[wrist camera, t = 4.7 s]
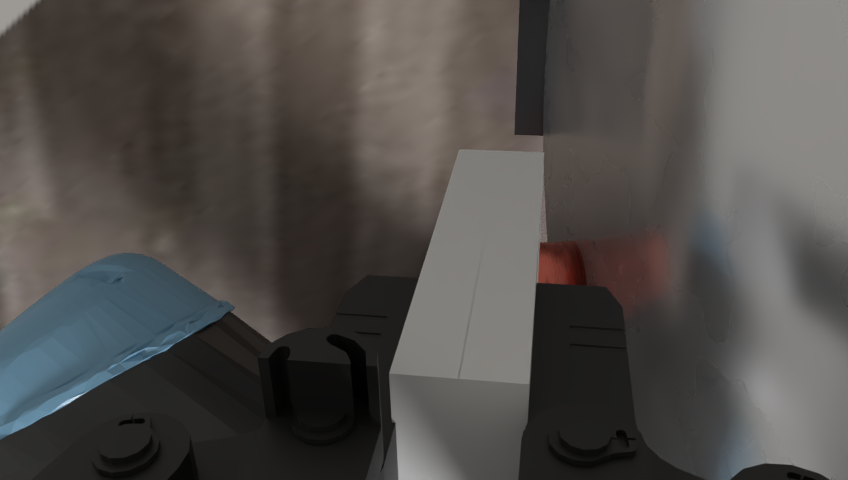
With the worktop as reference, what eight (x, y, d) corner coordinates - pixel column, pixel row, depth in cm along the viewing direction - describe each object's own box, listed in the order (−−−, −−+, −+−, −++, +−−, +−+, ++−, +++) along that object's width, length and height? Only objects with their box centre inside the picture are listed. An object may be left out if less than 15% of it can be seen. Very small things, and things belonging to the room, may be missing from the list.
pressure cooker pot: (521, 220, 42) (505, 374, 30) (547, -352, 31) (537, -446, 19) (941, 243, 39) (1096, 422, 28) (1140, -379, 28) (1539, -508, 16)
